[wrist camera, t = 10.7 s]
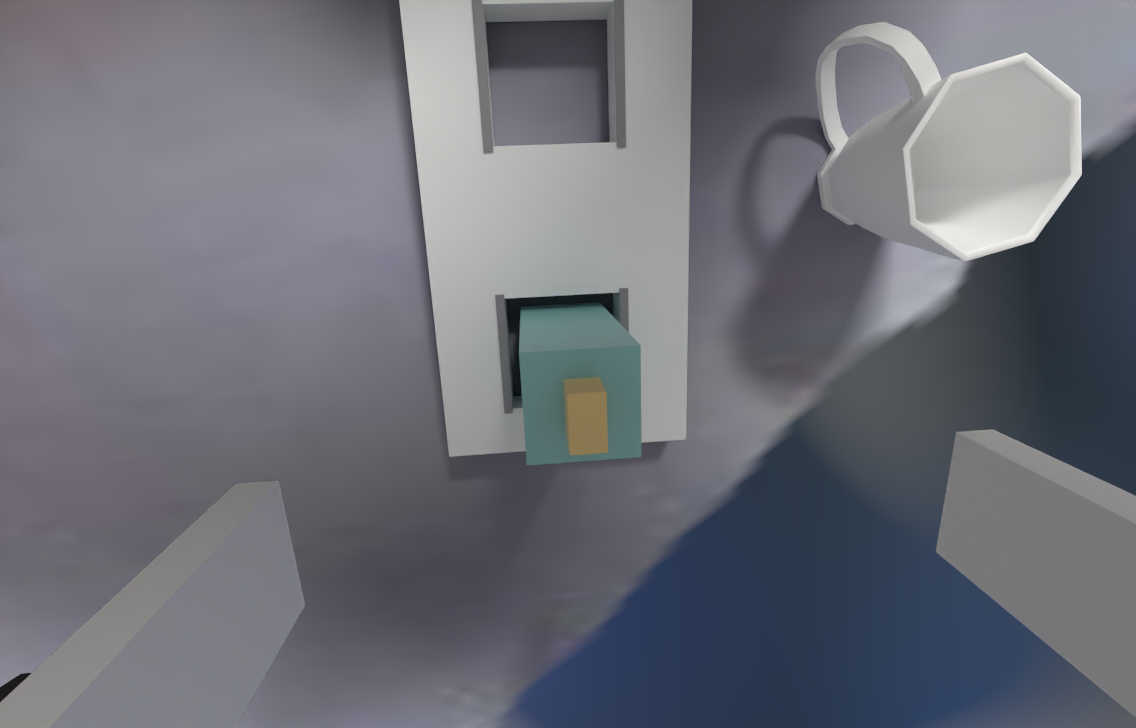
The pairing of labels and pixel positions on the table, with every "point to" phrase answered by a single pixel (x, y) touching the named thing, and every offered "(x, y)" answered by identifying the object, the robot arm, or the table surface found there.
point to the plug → (578, 385)
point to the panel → (552, 206)
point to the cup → (951, 151)
